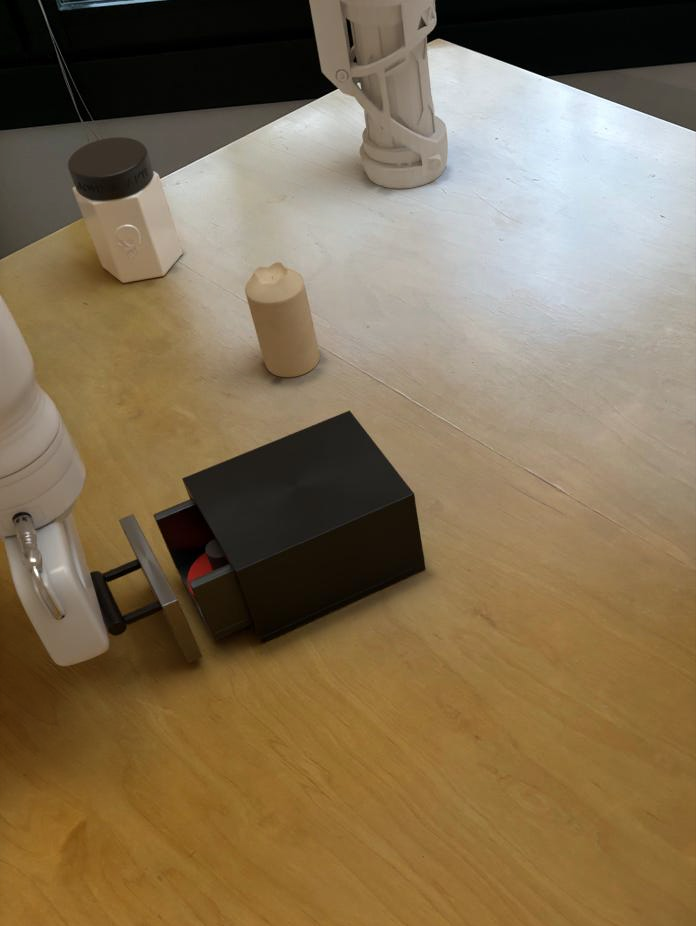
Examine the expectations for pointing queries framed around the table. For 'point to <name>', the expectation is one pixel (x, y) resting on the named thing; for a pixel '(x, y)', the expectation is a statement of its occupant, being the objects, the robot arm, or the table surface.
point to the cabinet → (310, 523)
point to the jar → (124, 209)
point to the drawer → (185, 545)
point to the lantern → (386, 83)
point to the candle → (282, 320)
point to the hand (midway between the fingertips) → (85, 607)
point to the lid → (207, 562)
